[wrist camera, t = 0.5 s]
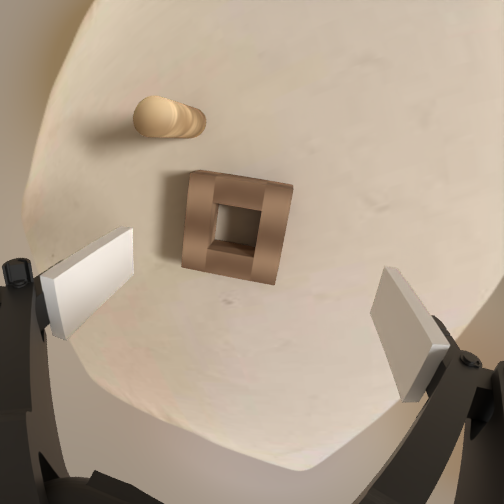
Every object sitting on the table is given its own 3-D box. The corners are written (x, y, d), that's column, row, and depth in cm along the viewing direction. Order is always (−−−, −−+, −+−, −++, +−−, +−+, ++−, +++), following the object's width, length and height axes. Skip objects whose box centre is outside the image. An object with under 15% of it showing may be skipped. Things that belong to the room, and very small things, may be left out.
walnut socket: (199, 169, 39) (190, 172, 35) (292, 184, 38) (293, 189, 34) (190, 256, 43) (181, 267, 39) (276, 272, 42) (274, 285, 38)
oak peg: (178, 107, 36) (136, 95, 25) (208, 109, 36) (174, 96, 25) (174, 136, 38) (130, 136, 26) (203, 139, 37) (168, 138, 26)
